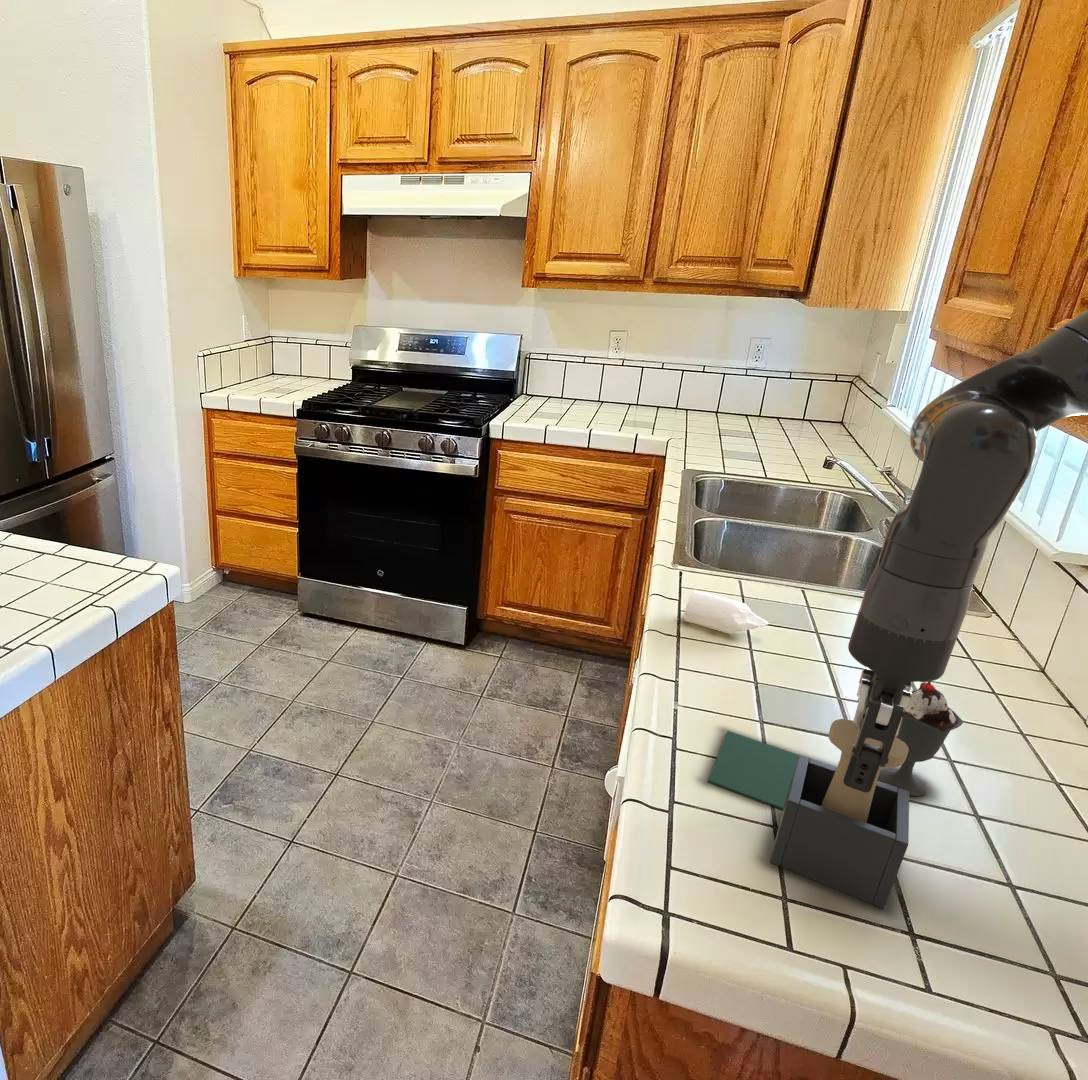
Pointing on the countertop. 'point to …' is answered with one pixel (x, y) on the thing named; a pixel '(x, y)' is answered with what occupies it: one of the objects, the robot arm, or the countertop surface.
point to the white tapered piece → (720, 613)
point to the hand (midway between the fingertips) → (858, 763)
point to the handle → (838, 793)
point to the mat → (754, 769)
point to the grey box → (842, 836)
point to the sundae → (921, 736)
